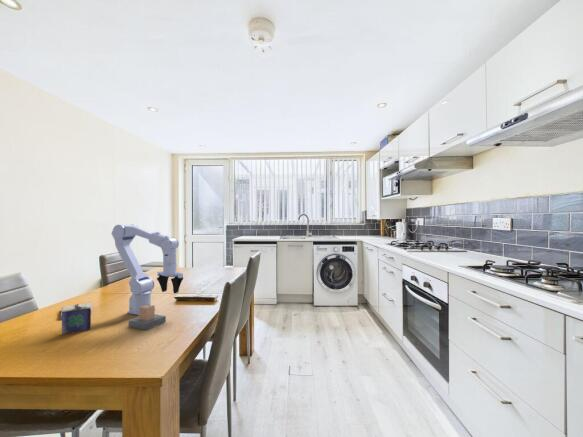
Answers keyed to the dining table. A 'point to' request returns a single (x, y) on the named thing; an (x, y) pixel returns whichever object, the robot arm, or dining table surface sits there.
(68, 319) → the flask
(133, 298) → the robot arm
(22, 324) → the dining table surface
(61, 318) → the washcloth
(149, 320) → the slate plinth
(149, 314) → the terracotta block
